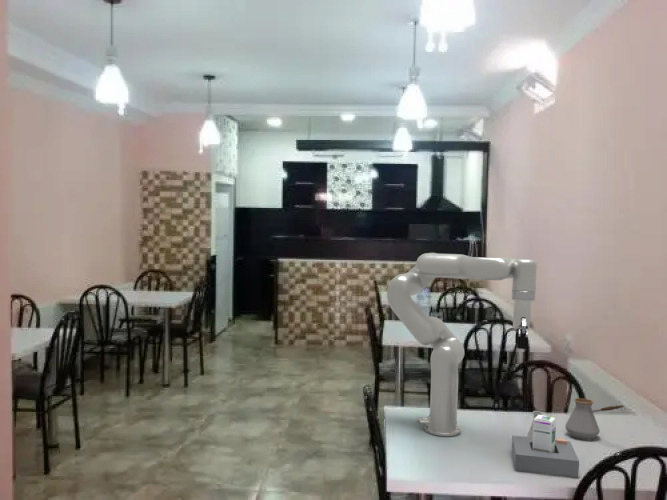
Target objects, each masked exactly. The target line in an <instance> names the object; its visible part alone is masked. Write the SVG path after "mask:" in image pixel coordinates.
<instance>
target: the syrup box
mask: <svg viewBox="0 0 667 500" xmlns="http://www.w3.org/2000/svg"><path fill="white" fill-rule="evenodd" d="M532 422H533V446H532V451H541V452H550V453H555V440H556V429H557V428H556V427H557V426H556V425H557V417H555V416H551V415H545V414H542V415H538V416H537V417H535V418H534V419H532Z"/></svg>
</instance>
